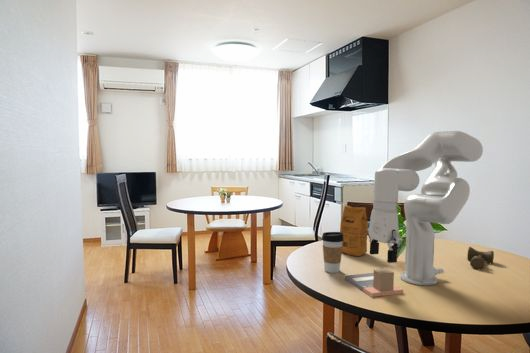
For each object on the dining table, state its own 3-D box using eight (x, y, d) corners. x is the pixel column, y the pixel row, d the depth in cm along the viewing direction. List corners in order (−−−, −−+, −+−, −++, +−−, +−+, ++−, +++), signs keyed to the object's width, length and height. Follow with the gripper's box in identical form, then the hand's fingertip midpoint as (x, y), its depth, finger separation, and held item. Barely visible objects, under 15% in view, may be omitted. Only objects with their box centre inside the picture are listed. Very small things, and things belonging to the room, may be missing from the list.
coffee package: (347, 248, 173) (348, 203, 172) (370, 253, 164) (371, 206, 162) (335, 252, 166) (336, 205, 165) (358, 257, 157) (359, 208, 156)
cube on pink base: (393, 287, 122) (394, 267, 121) (403, 293, 117) (403, 271, 117) (363, 291, 118) (363, 270, 118) (371, 297, 114) (372, 275, 113)
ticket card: (372, 275, 134) (373, 272, 134) (392, 287, 122) (393, 283, 122) (344, 278, 130) (344, 275, 130) (362, 291, 119) (362, 287, 119)
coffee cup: (343, 274, 135) (343, 235, 134) (320, 272, 137) (321, 234, 136) (342, 267, 143) (343, 231, 142) (321, 266, 145) (322, 230, 144)
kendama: (463, 268, 145) (469, 256, 161) (490, 274, 140) (494, 260, 156) (464, 254, 145) (470, 243, 161) (491, 259, 139) (495, 247, 155)
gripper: (360, 203, 123) (358, 251, 124) (392, 210, 106) (389, 266, 107) (379, 203, 125) (377, 250, 126) (412, 210, 109) (410, 265, 109)
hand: (382, 258), depth 117 cm, fingers open, 9 cm apart
